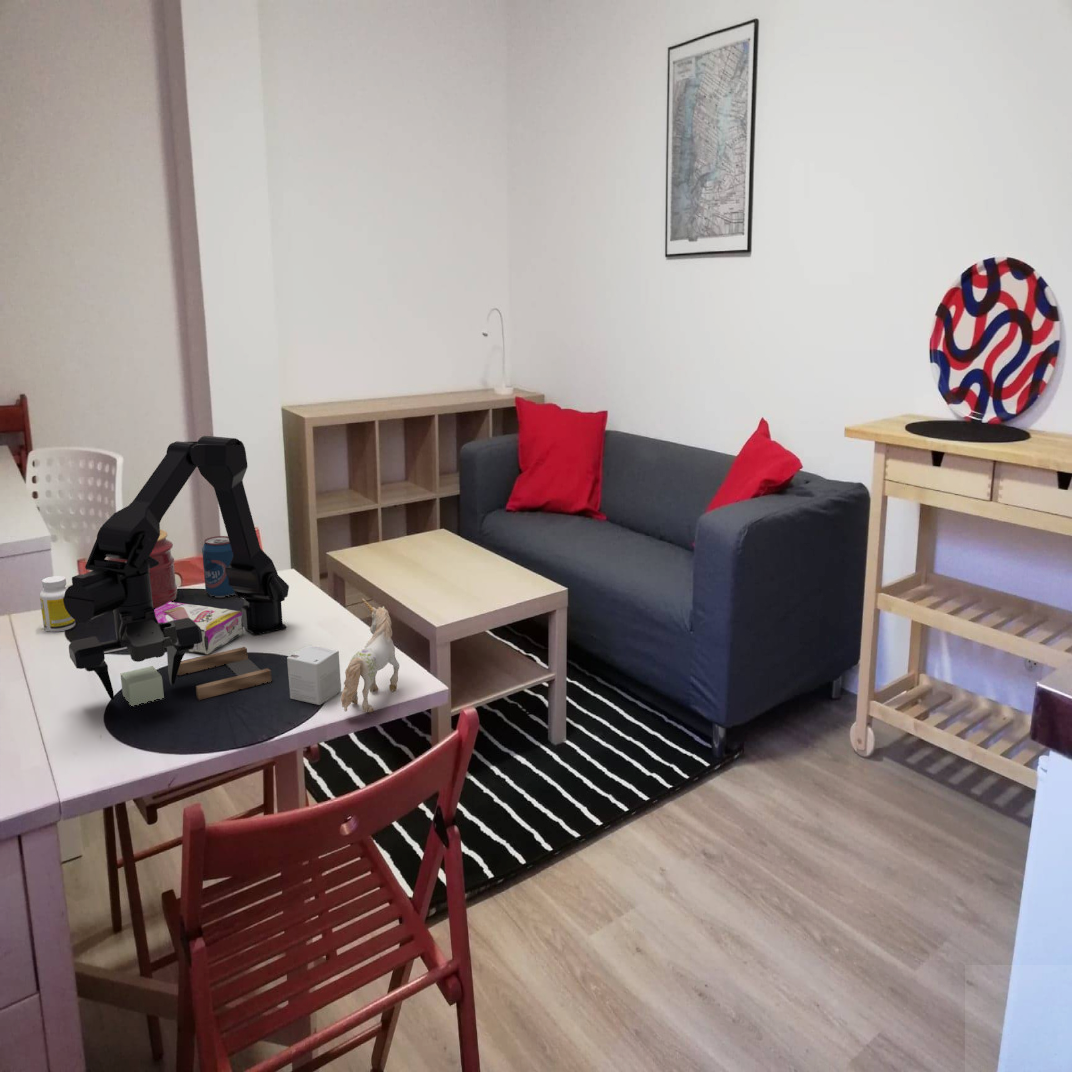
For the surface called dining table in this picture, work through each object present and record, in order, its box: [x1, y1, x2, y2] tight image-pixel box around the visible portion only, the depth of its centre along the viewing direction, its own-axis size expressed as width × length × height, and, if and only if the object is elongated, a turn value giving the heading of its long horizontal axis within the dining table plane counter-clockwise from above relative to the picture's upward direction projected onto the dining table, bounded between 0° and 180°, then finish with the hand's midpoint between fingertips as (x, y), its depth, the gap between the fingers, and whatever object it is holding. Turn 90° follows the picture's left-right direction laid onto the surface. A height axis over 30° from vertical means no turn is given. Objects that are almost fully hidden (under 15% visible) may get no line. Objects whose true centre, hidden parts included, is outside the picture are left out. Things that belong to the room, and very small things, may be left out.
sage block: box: [120, 665, 165, 707], centre depth 143 cm, size 5×5×4 cm
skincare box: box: [286, 644, 342, 706], centre depth 145 cm, size 6×6×7 cm
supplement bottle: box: [39, 575, 76, 633], centre depth 170 cm, size 5×5×10 cm
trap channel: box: [177, 646, 272, 701], centre depth 151 cm, size 12×12×2 cm
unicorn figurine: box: [340, 598, 400, 714], centre depth 144 cm, size 7×20×13 cm, turn 0°
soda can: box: [201, 535, 236, 598], centre depth 190 cm, size 7×7×12 cm
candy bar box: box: [154, 601, 244, 655], centre depth 166 cm, size 11×5×16 cm
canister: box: [107, 528, 178, 608], centre depth 183 cm, size 13×13×18 cm
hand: (142, 691), depth 143 cm, fingers open, 9 cm apart
